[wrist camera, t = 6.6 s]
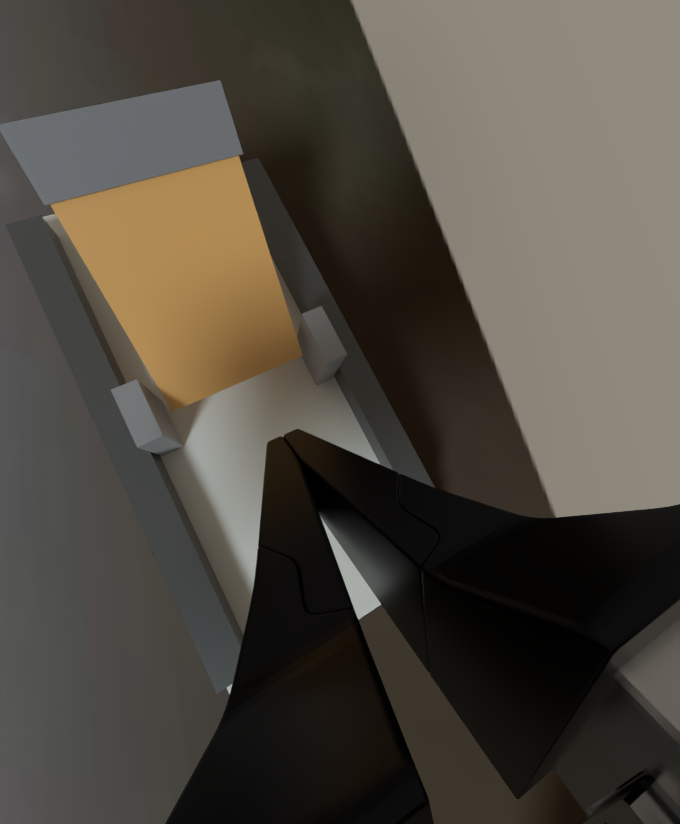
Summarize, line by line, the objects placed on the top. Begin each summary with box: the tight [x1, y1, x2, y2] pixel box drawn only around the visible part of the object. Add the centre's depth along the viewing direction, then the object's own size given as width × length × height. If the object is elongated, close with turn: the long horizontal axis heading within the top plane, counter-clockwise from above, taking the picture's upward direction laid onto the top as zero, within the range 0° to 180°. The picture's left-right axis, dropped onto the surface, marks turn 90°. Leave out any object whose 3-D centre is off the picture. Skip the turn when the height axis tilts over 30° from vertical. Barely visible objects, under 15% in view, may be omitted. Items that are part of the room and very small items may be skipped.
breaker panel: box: [6, 158, 435, 694], centre depth 15 cm, size 20×10×6 cm, turn 28°
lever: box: [0, 80, 303, 412], centre depth 12 cm, size 2×5×8 cm
